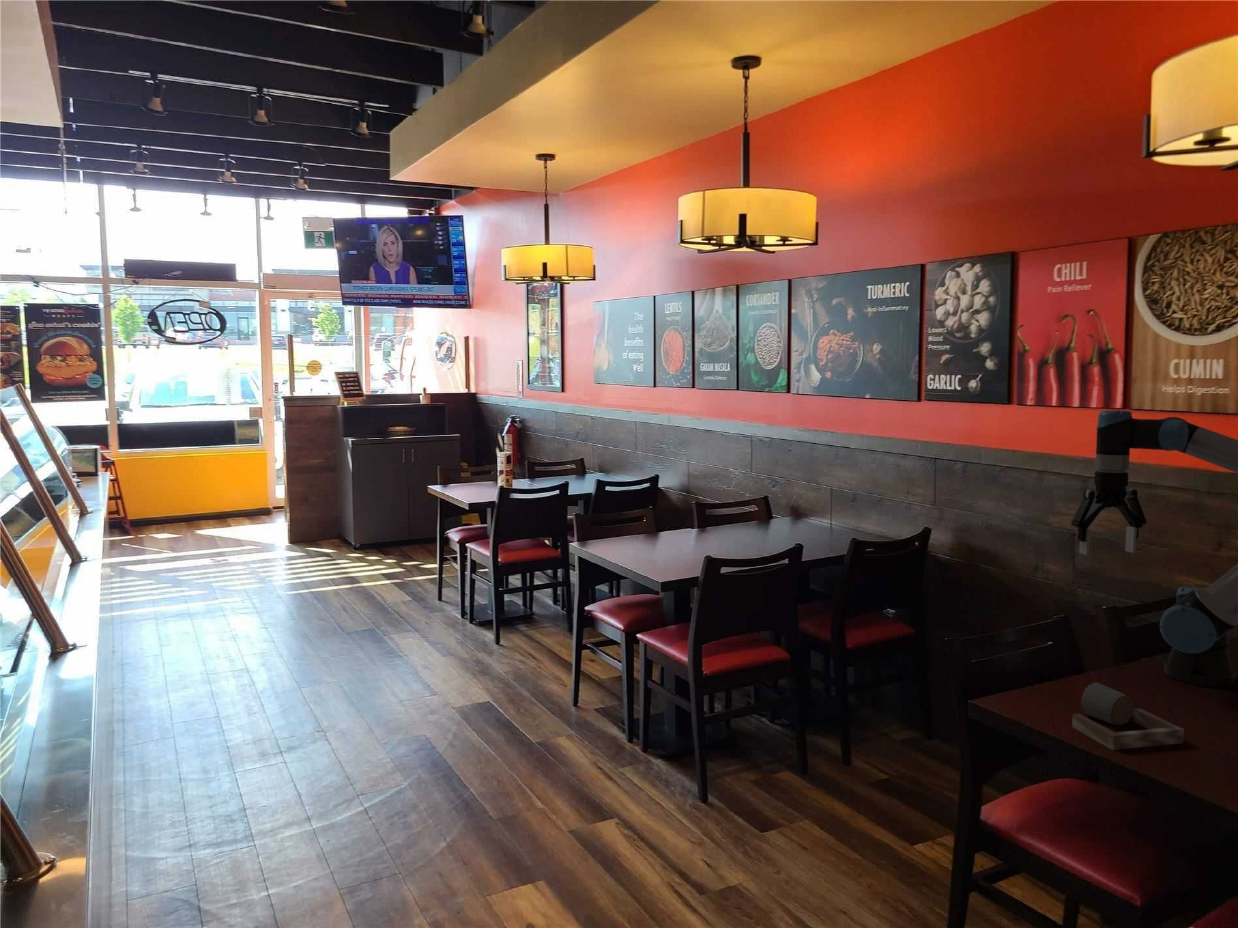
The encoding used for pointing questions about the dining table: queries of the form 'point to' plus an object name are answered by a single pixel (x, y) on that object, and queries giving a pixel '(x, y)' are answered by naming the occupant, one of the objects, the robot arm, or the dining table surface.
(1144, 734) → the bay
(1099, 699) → the ceramic mug
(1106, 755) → the dining table surface
